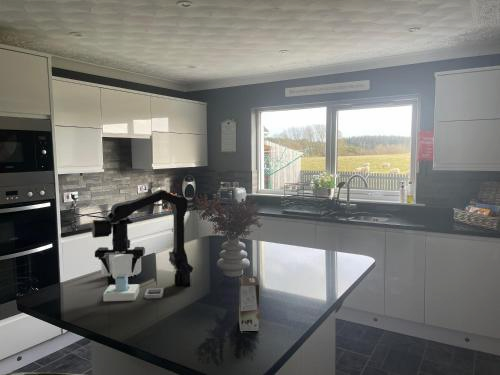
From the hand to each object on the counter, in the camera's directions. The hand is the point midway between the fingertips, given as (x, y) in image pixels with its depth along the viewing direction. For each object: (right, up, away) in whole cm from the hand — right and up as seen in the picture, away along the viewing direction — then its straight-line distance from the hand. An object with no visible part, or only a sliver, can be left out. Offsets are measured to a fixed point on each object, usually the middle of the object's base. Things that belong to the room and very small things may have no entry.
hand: (120, 272), depth 156 cm
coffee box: (+52, -13, -25) cm, 59 cm away
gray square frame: (+13, -10, +2) cm, 16 cm away
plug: (0, -10, +1) cm, 10 cm away
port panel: (0, -10, +1) cm, 10 cm away
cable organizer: (-8, -8, +26) cm, 29 cm away
